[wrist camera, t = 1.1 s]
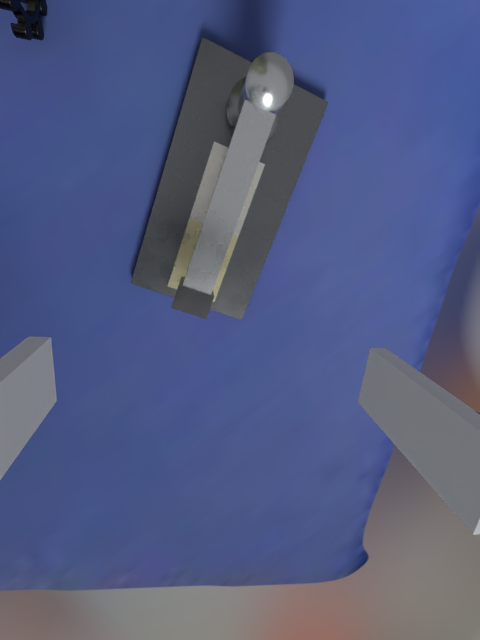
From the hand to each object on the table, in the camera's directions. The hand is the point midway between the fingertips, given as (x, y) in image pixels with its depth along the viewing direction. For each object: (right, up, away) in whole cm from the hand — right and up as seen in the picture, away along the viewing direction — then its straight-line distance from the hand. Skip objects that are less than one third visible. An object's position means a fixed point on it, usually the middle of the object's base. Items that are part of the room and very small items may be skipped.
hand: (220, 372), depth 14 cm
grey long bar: (-1, +13, +16) cm, 21 cm away
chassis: (-1, +14, +18) cm, 23 cm away
